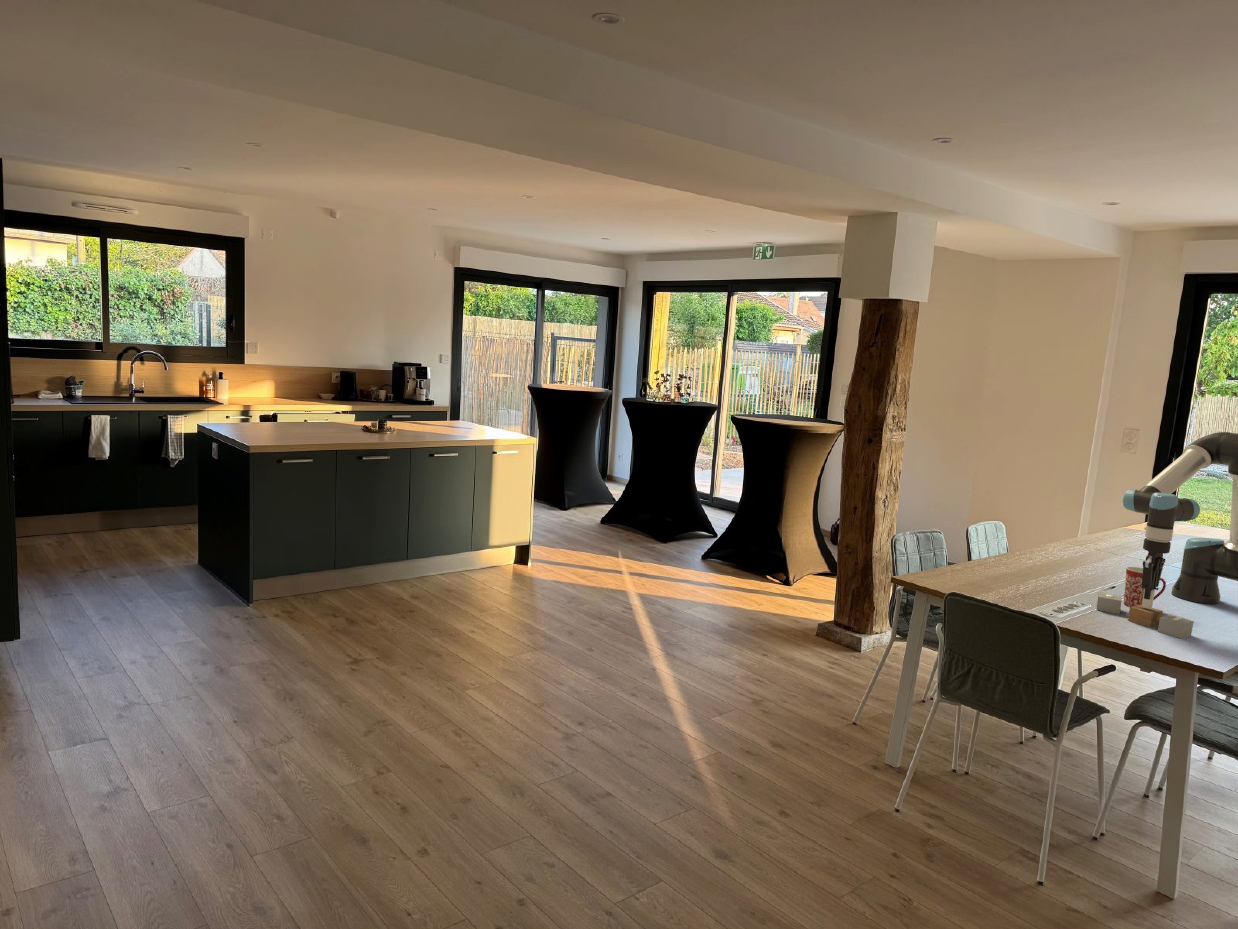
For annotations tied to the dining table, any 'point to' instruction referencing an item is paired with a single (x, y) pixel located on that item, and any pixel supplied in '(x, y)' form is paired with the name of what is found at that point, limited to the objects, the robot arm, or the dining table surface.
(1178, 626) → the marked block
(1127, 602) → the mug
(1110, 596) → the marked block
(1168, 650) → the dining table surface
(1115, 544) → the dining table surface
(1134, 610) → the walnut block
